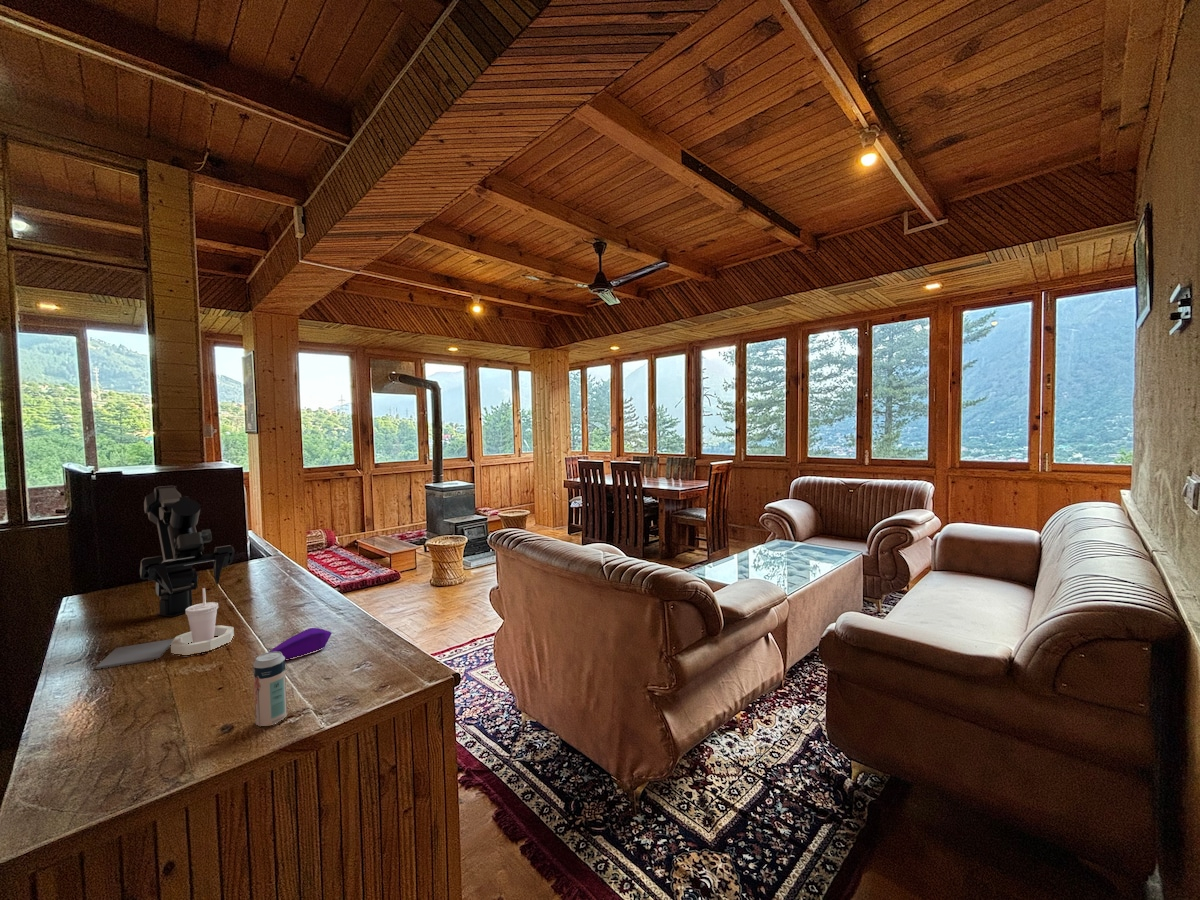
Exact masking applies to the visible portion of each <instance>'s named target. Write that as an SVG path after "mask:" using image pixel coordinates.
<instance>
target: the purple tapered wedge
mask: <svg viewBox="0 0 1200 900" xmlns="http://www.w3.org/2000/svg"><path fill="white" fill-rule="evenodd" d="M331 635H332V632H331V631H329V630H327V629H326V630H325V629H323V628H317V627H310V628H307V629H305V630H302V631H301V632H299V633H297V634H295V635H293V636H291V637H289V638H288V639H286V640H284V641H283V642H281V643H279V644H278V645H276V646H275V647H273V648H272V649H271V650H270V651H268V652H274V651H277V652H281V653H282V655H283V656H284V657H285V660H286V659H290V658H293V657H297V656H301V655H304V654H307V653H310V652H313V651H316V650H319V649H321V648H323V647H324V648H325V646H327V643H328V641H329V639H330V638H331ZM324 648H323V649H324Z"/></svg>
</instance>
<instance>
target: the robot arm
mask: <svg viewBox="0 0 1200 900" xmlns="http://www.w3.org/2000/svg"><path fill="white" fill-rule="evenodd" d="M143 510H144V514H147V516H148V517H147V518H148V520H149V521H150V522H152V523H153V524H154V525H156V527H157V533H158V537H159V538H158V539H159V544H160V548H161V549H160V550H161V553H162V554H161V555H155V556H151V557H145V558H144V557H143V558H142V559H141V560H140V567H139V575H140V579H141V580H148V581H151V582H153V581H154V582H155V587H154V588H155V594H156V595H157V597H160V599H159V600H158V603H159V604H158V606H159V609H158V610H159V612H158V613H157V616H163V617H170V618H171V617H172V618H174V617H177V616H180V615H183V614H185V613H186V611H185V610H186V608H188V607H190V606H193V592H192V590H197V588H198V586H199V585H198V582H199V572H197V570H196V568H194V567H193V565H195V564H197V565H198V564H202V563H203V564H204V563H208V562H212V563H213V576H214V577H213V578H214V582H215V585H216V586H218V585H219V583H220V579H221V572H222V571H223V570H222V569H223V568H226V567H227V566H228V565H231V564H232V563H233V560H234V556H235V553H236V550H235V547H234V546H232V545H231V544H229V545H222V546H215V547H214V551H213V552H211V553H206V554H203V553H202V552H204V550H205V547H204V544H207V543H211V542H212V540H213V536H212V531H211V529H210V528H209V529H208V528H207V529H201V531H197V527H196V526H197V525H198V522H199V518H200V517H199V516H200V514H201V513H202V507H201V504H200V503H199V502H197V501H196V500H194V499H190V497H189V496H182V494H181V492H179V491H178V486H177V485H165V486H164V485H162V486H157V487H154V489H153V491H152V492H150V493H149V494H147V495H146V496H145V497H144V502H143Z"/></svg>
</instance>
